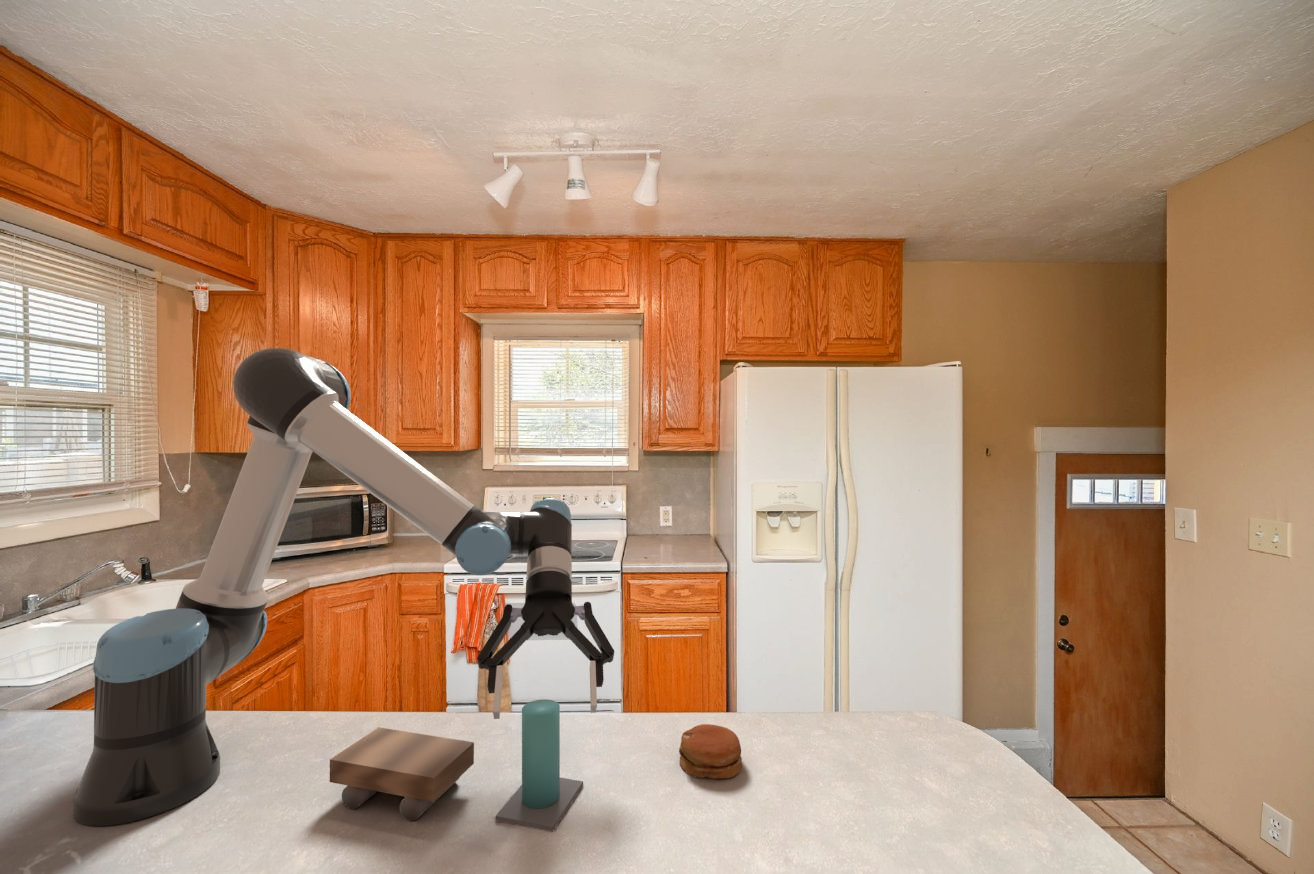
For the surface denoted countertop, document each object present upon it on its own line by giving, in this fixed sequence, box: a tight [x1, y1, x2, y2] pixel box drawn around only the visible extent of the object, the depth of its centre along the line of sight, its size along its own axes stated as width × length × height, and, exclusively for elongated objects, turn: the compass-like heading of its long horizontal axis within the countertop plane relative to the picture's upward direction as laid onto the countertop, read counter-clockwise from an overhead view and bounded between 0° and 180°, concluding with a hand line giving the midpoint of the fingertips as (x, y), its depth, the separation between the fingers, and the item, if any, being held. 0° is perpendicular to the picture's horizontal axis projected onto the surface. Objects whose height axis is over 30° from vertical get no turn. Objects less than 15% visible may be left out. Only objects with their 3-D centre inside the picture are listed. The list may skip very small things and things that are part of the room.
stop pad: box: [494, 777, 584, 833], centre depth 77 cm, size 8×10×1 cm
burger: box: [678, 723, 743, 780], centre depth 87 cm, size 10×9×5 cm
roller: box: [521, 699, 561, 809], centre depth 78 cm, size 5×5×12 cm
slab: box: [329, 726, 475, 822], centre depth 79 cm, size 16×9×6 cm, turn 75°
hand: (545, 712), depth 81 cm, fingers open, 13 cm apart
